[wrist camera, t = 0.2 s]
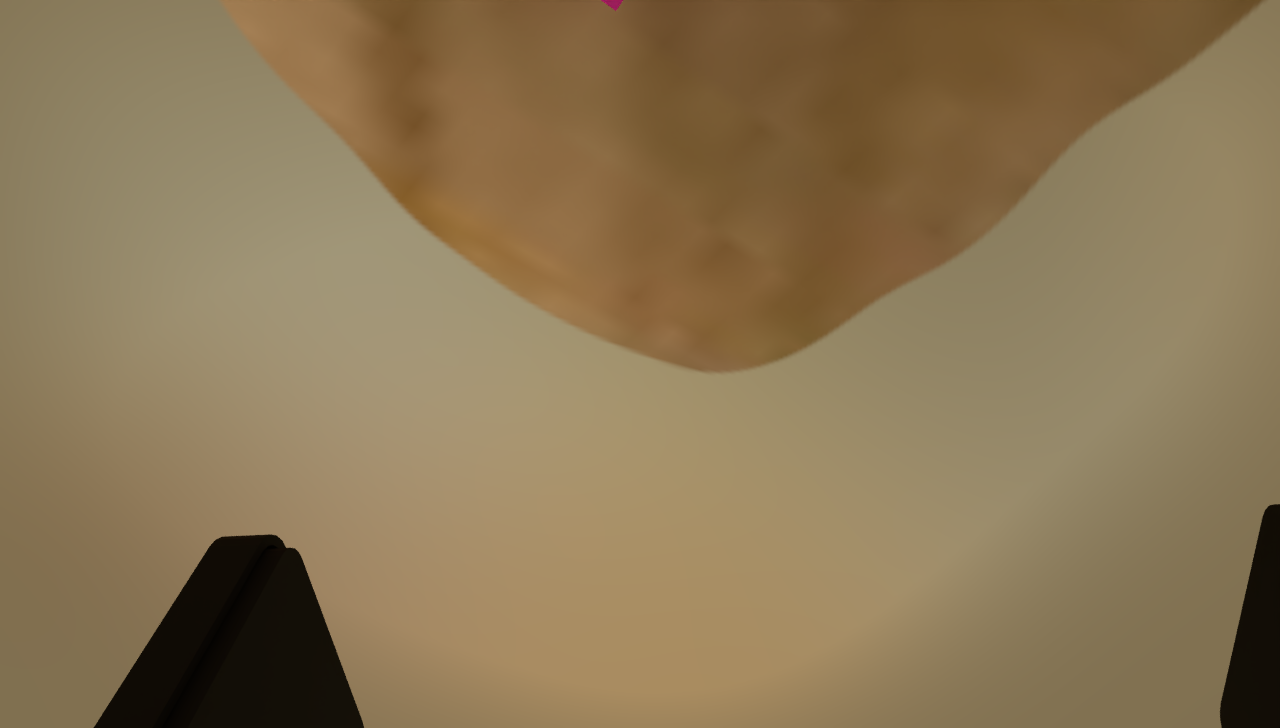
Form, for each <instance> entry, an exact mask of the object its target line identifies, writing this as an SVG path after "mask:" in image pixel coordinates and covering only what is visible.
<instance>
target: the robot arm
mask: <svg viewBox="0 0 1280 728" xmlns="http://www.w3.org/2000/svg"><path fill="white" fill-rule="evenodd" d="M1220 720H1221V725H1222V728H1280V504H1278V505H1277V504H1275V505H1270V506H1268V508H1267V509H1266V510H1265V512H1264V515H1263V518H1262V523H1261V527H1260V532H1259V536H1258V540H1257V545H1256V549H1255V554H1254V558H1253V562H1252V567H1251V572H1250V576H1249V581H1248V585H1247V589H1246V594H1245V598H1244V602H1243V607H1242V612H1241V616H1240V620H1239V625H1238V629H1237V634H1236V638H1235V643H1234V647H1233V652H1232V656H1231V661H1230V665H1229V669H1228V674H1227V678H1226V683H1225V687H1224V692H1223V696H1222V701H1221V707H1220ZM94 728H364V726H363V722H362V719H361V716H360V714H359V711H358V708H357V706H356V703H355V700H354V697H353V695H352V692H351V689H350V687H349V684H348V681H347V679H346V676H345V673H344V671H343V668H342V665H341V662H340V660H339V657H338V655H337V652H336V649H335V646H334V644H333V641H332V638H331V635H330V633H329V630H328V628H327V625H326V622H325V619H324V617H323V614H322V611H321V609H320V606H319V603H318V600H317V598H316V595H315V592H314V590H313V587H312V584H311V582H310V579H309V576H308V573H307V571H306V568H305V565H304V563H303V560H302V558H301V556H300V554H299V552H298V551H297V550H296V549H295V548H286V547H285V545H284V543H283V541H282V540H281V539H280V538H279V537H278V536H276V535H253V536H251V535H250V536H229V537H221V538H219V539H216V540H215V541H214V542H213V543H212V544H211V546H210V547H209V548H208V550H207V552H206V553H205V555H204V556H203V558H202V559H201V561H200V562H199V564H198V566H197V567H196V569H195V570H194V572H193V573H192V575H191V576H190V578H189V580H188V581H187V583H186V585H185V586H184V587H183V589H182V591H181V592H180V594H179V595H178V597H177V598H176V600H175V601H174V603H173V605H172V606H171V608H170V609H169V611H168V613H167V614H166V616H165V617H164V619H163V620H162V622H161V624H160V625H159V627H158V628H157V630H156V632H155V633H154V634H153V636H152V637H151V639H150V641H149V642H148V644H147V645H146V647H145V648H144V650H143V652H142V653H141V655H140V656H139V658H138V659H137V661H136V663H135V664H134V666H133V667H132V669H131V670H130V672H129V673H128V675H127V677H126V678H125V680H124V681H123V683H122V684H121V686H120V688H119V689H118V691H117V692H116V694H115V695H114V697H113V698H112V700H111V702H110V703H109V705H108V706H107V708H106V709H105V711H104V712H103V714H102V716H101V717H100V719H99V720H98V722H97V724H96V725H95V727H94Z"/></svg>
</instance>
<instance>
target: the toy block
mask: <svg viewBox="0 0 1280 728" xmlns="http://www.w3.org/2000/svg"><path fill="white" fill-rule="evenodd" d="M601 1H603V2H604V3H606V4H607V5H608V6H610V7H611V8H613V9H614V10H615V11H616V10H617V9H618V7H619V6H620V4H621V3H622V1H623V0H601Z"/></svg>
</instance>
